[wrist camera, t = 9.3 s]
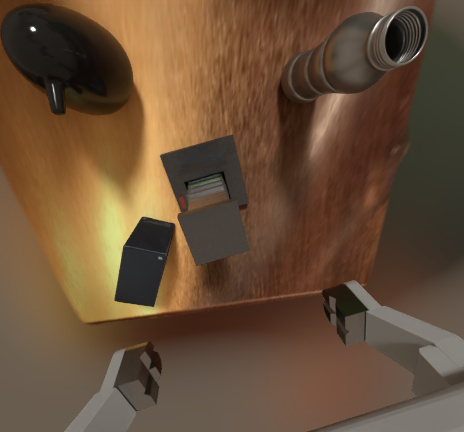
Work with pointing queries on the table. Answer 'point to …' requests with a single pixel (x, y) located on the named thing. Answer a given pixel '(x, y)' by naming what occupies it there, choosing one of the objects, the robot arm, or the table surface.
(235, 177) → the stand
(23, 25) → the pump dispenser
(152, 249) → the small box
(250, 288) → the table surface
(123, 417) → the robot arm
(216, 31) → the table surface
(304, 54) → the plastic bottle
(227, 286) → the table surface
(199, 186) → the column
